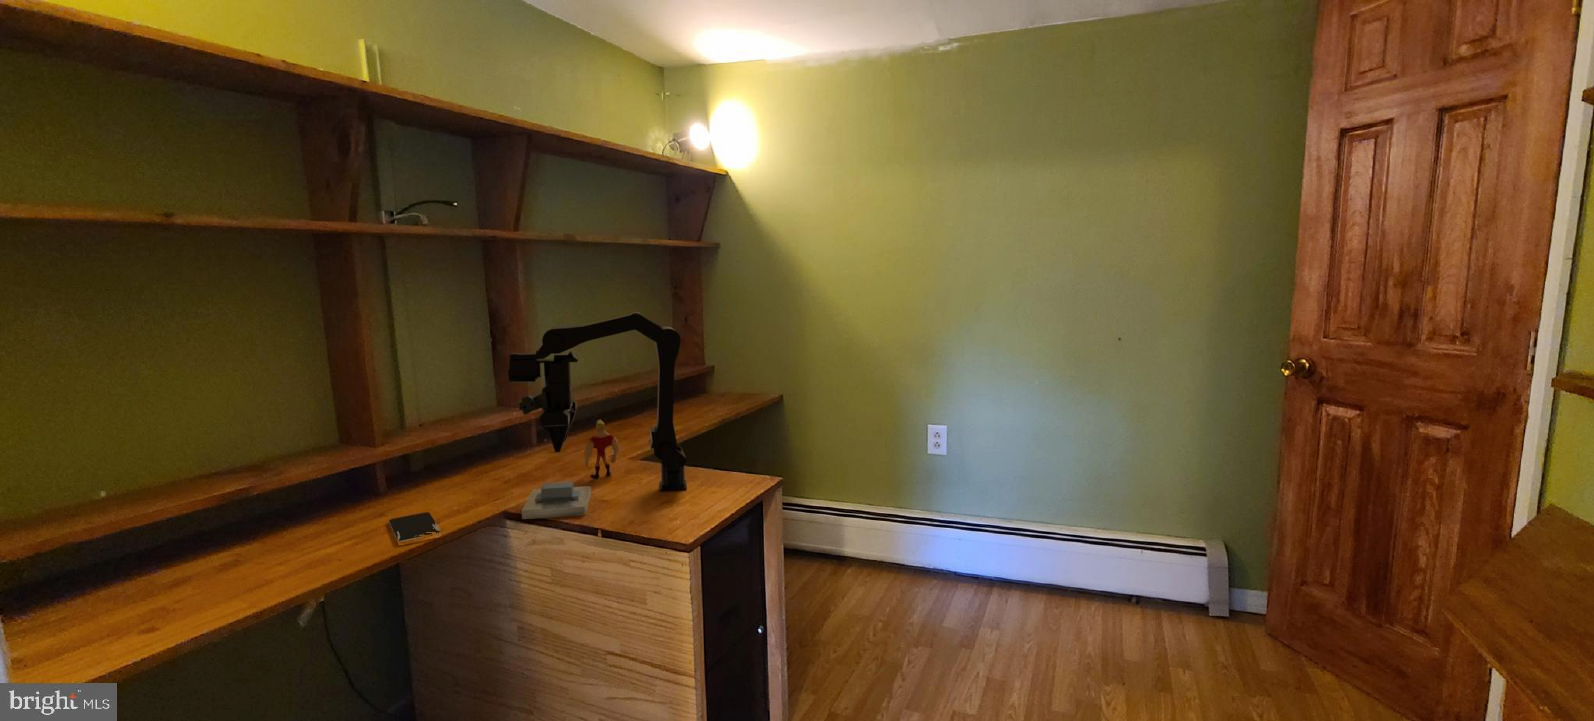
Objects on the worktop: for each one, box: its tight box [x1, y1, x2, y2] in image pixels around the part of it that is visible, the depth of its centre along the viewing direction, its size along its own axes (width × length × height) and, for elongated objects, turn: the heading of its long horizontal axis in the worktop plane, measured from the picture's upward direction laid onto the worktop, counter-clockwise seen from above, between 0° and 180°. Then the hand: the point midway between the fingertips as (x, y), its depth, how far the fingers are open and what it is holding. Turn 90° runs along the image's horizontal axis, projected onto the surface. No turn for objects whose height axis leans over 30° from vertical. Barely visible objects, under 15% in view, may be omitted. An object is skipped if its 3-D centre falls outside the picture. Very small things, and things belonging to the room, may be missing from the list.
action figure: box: [583, 419, 620, 479], centre depth 174 cm, size 10×4×15 cm, turn 129°
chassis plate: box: [521, 485, 592, 520], centre depth 153 cm, size 14×13×2 cm
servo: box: [535, 481, 580, 503], centre depth 154 cm, size 8×9×5 cm
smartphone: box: [388, 512, 442, 542], centre depth 138 cm, size 8×1×15 cm
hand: (560, 446), depth 158 cm, fingers open, 9 cm apart
